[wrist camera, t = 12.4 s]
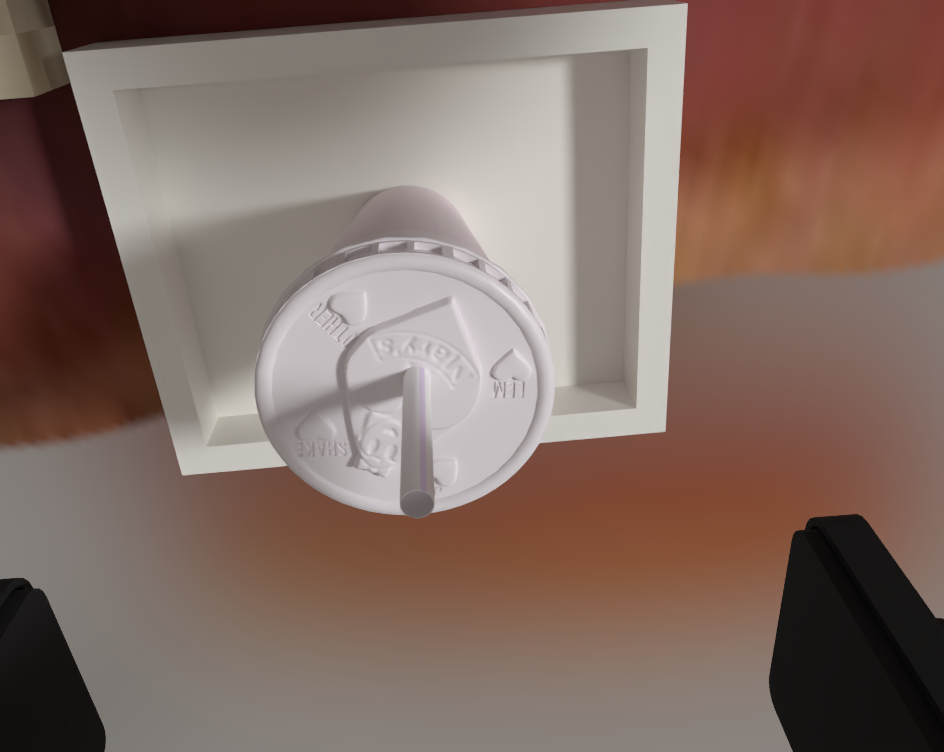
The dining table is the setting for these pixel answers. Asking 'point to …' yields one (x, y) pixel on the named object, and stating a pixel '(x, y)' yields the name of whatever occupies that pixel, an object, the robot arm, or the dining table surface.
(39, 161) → the dining table surface
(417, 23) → the tray
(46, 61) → the frame
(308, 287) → the smoothie
